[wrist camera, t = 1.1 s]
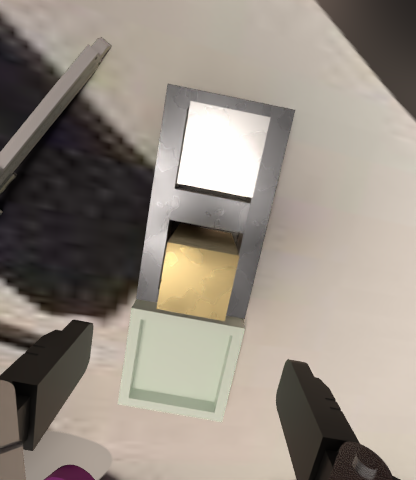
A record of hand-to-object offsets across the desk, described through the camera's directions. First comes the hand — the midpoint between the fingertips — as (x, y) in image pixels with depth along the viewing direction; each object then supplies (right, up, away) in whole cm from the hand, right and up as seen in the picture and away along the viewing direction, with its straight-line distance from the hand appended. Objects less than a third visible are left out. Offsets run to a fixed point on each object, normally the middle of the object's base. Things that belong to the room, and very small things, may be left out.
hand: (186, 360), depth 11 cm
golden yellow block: (0, +4, +16) cm, 16 cm away
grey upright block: (+2, +12, +14) cm, 19 cm away
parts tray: (-2, -7, +18) cm, 20 cm away
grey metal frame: (+1, +8, +15) cm, 17 cm away
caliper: (-14, +14, +14) cm, 24 cm away
